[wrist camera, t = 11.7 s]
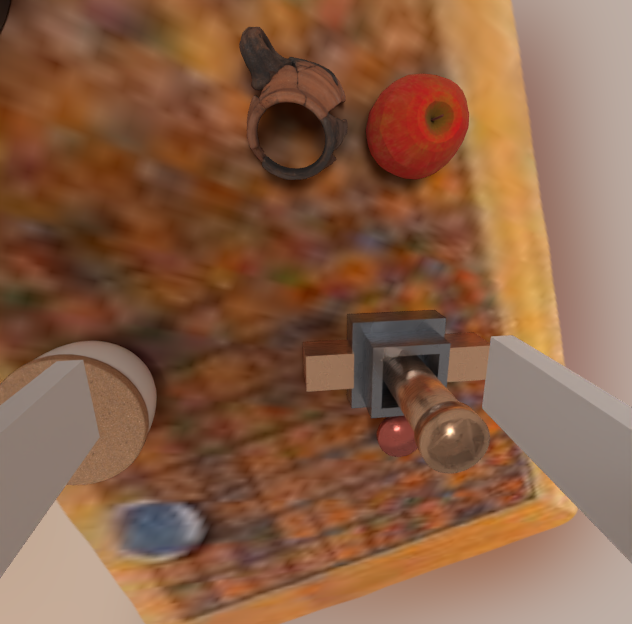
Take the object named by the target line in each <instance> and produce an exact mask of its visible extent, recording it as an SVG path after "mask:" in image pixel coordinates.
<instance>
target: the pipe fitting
mask: <svg viewBox="0 0 632 624" xmlns="http://www.w3.org/2000/svg"><path fill="white" fill-rule="evenodd" d="M382 379H383V380H384V382H385V384H386V385H387V387H388V389H389V390H390V392H391V394H392V396H393V397H394V399H395V401H396V402H397V404H398V406H399V407H400V409H401V411H402V412H403V414H404V416H405V417H406V419H407V421H408V423H409V424H410V426H411V428H412V429H413V431H414V440H415V443H416V446H417V448H418V450H419V451H420V453H421V455H422V457H423V458H424V460H425V462H426V463H427V464H428V465H429V466H430V467H431V468H432V469H434V470H436V471H438V472H442V473H458V472H461V471H464V470H467V469H469V468H470V467H472V466H474V465H475V464H476V463H477V462H478V461H479V460H480V459H481V458H482V457H483V456H484V454H485V453H486V450H487V448H488V445H489V441H490V435H489V430H488V427H487V425H486V424H485V422H484V421H483V420H482V419H481V418H480V417H479V416H478V415H477V414H476V413H475V412H474V411H473V409H472V408H470V407H469V406H468V405H466V404H464V403H461V402H458V401H457V399H456V398H455V397H454V396H453V395H452V394H451V393H450V392H449V390H448V389H447V388H446V387H445V386H444V385H443V384H442V383H441V382H440V380H439V379H438V378H437V377H436V376H435V375H434V374H433V373H432V371H431V370H430V369H429V368H428V367H427V366H426V365H425V364H424V362H423V361H422V360H421V359H420V358H419V357H418V356H417V355H410V356H393V357H383V378H382Z"/></svg>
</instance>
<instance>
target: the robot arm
mask: <svg viewBox="0 0 632 624" xmlns="http://www.w3.org/2000/svg"><path fill="white" fill-rule="evenodd" d="M9 3H10V0H0V29H1V28H2V26H3V23H4V21H5V18H6V15H7V12H8V8H9ZM482 409H483V410H484V411H485V412H486V413H487V414H488V415H489V416H490V417H491V418H492V419H493V420H494V421H495V422H496V423H497V424H498V425H499V426H500V427H501V428H502V429H503V430H504V432H505V433H506V434H507V435H508V436H509V437H510V438H511V439H512V440H513V441H514V442H515V443H516V444H517V445H518V446H519V447H520V448H521V449H522V450H523V451H524V452H525V453H526V454H527V455H528V456H529V457H530V458H531V459H532V461H533V462H534V463H535V464H536V465H537V466H538V467H539V468H540V469H541V470H542V471H543V472H544V473H545V474H546V475H547V476H548V477H549V478H550V479H551V480H552V481H553V482H554V483H555V484H556V485H557V486H558V487H559V488H560V490H561V491H562V492H563V493H564V494H565V495H566V496H567V497H568V498H569V499H570V500H571V501H572V502H573V503H574V504H575V505H576V506H577V507H578V508H579V509H580V510H581V511H582V512H583V513H584V514H585V515H586V516H587V517H588V519H589V520H590V521H591V522H592V523H593V524H594V525H595V526H596V527H597V528H598V529H599V530H600V531H601V532H602V533H603V534H604V535H605V536H606V537H607V538H608V539H609V540H610V541H611V542H612V543H613V544H614V545H615V546H616V547H617V549H618V550H620V552H621V553H622V554H623V555H624V556H625V557H626V558H627V559H628V560H629V561H630V562H631V563H632V407H631V406H629V405H628V404H626V403H624V402H623V401H621V400H619V399H618V398H616V397H614V396H613V395H611V394H609V393H608V392H606V391H604V390H603V389H601V388H599V387H598V386H596V385H594V384H593V383H591V382H589V381H588V380H586V379H584V378H583V377H581V376H579V375H578V374H576V373H574V372H573V371H571V370H569V369H568V368H566V367H564V366H563V365H561V364H559V363H558V362H556V361H554V360H553V359H551V358H549V357H548V356H546V355H544V354H543V353H541V352H539V351H538V350H536V349H534V348H533V347H531V346H529V345H528V344H526V343H524V342H523V341H521V340H519V339H518V338H516V337H514V336H513V335H511V336H493V337H491V341H490V349H489V357H488V365H487V373H486V381H485V389H484V396H483V404H482ZM99 437H100V436H99V431H98V426H97V422H96V417H95V412H94V408H93V403H92V399H91V394H90V389H89V385H88V380H87V375H86V371H85V366H84V361H83V360H70V361H56V362H55V363H54V364H52V365H51V366H50V367H49V368H47V369H46V370H45V371H44V372H42V373H41V374H40V375H38V376H37V377H36V378H35V379H33V380H32V381H31V382H30V383H28V384H27V385H26V386H24V387H23V388H22V389H21V390H19V391H18V392H17V393H16V394H14V395H13V396H12V397H10V398H9V399H8V400H7V401H5V402H4V403H3V404H2V405H0V578H1V576H2V575H3V573H4V572H5V571H6V569H7V568H8V567H9V565H10V564H11V562H12V561H13V559H14V558H15V557H16V555H17V554H18V552H19V551H20V549H21V548H22V547H23V545H24V544H25V542H26V541H27V540H28V538H29V537H30V535H31V534H32V532H33V531H34V530H35V528H36V527H37V525H38V524H39V523H40V521H41V520H42V518H43V517H44V515H45V514H46V513H47V511H48V510H49V508H50V507H51V505H52V504H53V503H54V501H55V500H56V498H57V497H58V496H59V494H60V493H61V491H62V490H63V488H64V487H65V486H66V484H67V483H68V481H69V480H70V479H71V477H72V476H73V474H74V473H75V471H76V470H77V469H78V467H79V466H80V464H81V463H82V462H83V460H84V459H85V457H86V456H87V454H88V453H89V452H90V450H91V449H92V447H93V446H94V444H95V443H96V442H97V440H98V439H99Z"/></svg>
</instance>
